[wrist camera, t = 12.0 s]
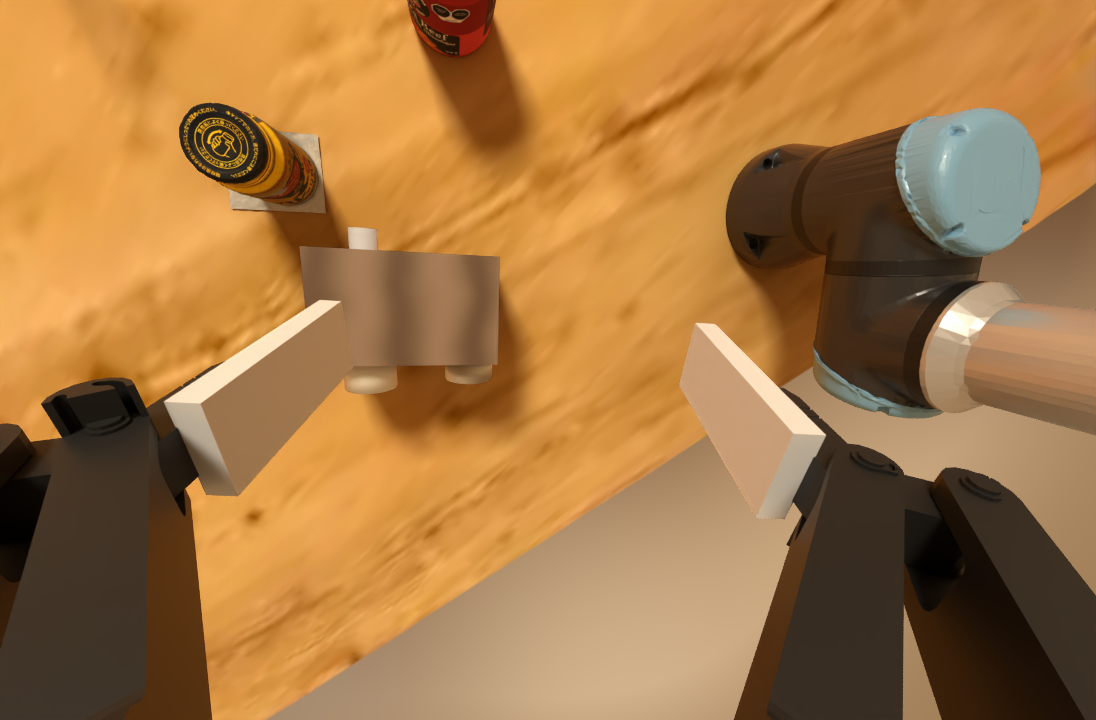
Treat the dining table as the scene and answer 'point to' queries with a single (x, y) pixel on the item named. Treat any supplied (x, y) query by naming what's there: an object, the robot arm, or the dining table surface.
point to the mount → (411, 307)
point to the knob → (368, 376)
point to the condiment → (254, 159)
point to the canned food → (452, 24)
